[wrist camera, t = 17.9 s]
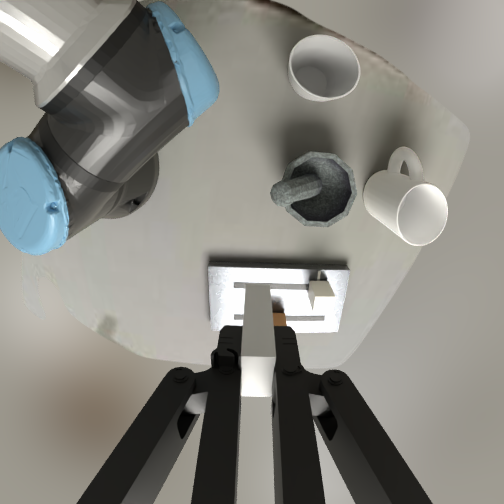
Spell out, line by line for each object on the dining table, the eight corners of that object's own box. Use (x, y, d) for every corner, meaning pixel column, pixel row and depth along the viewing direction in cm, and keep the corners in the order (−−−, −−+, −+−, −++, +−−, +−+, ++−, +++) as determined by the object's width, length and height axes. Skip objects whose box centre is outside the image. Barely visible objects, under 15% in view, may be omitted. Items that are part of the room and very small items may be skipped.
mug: (410, 146, 39) (454, 153, 27) (406, 219, 43) (445, 245, 32) (363, 142, 39) (399, 146, 28) (361, 219, 43) (393, 247, 32)
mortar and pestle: (345, 153, 40) (376, 160, 28) (339, 214, 43) (365, 242, 32) (268, 147, 40) (273, 150, 28) (265, 210, 43) (268, 237, 32)
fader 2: (307, 295, 46) (312, 312, 41) (309, 280, 45) (315, 296, 40) (326, 295, 46) (332, 311, 41) (328, 281, 45) (335, 296, 40)
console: (212, 323, 51) (211, 330, 49) (209, 261, 46) (207, 266, 44) (335, 325, 51) (337, 332, 49) (346, 265, 46) (350, 270, 44)
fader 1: (265, 325, 48) (266, 343, 43) (266, 312, 47) (267, 330, 42) (283, 325, 48) (286, 344, 43) (285, 313, 47) (287, 330, 42)
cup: (329, 115, 38) (350, 109, 28) (274, 97, 37) (280, 85, 28) (343, 67, 35) (366, 50, 25) (289, 49, 34) (299, 25, 25)
